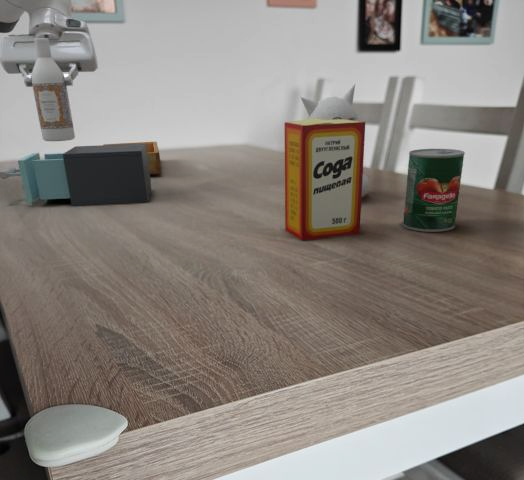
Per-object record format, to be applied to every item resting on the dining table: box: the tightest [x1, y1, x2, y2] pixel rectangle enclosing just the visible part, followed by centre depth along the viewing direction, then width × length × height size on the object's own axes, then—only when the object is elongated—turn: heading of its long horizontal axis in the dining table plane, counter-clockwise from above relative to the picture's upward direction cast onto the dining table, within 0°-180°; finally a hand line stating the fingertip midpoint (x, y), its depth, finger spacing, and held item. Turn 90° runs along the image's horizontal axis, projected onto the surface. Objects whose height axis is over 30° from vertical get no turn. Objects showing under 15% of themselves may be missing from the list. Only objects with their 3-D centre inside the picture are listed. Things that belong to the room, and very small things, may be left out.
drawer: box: [0, 152, 70, 204], centre depth 111 cm, size 18×11×8 cm, turn 96°
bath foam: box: [31, 38, 76, 142], centre depth 120 cm, size 7×7×20 cm
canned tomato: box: [402, 148, 466, 233], centre depth 84 cm, size 8×8×11 cm
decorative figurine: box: [300, 83, 371, 198], centre depth 103 cm, size 15×15×20 cm
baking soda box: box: [284, 118, 366, 241], centre depth 81 cm, size 10×6×16 cm
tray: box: [103, 141, 162, 175], centre depth 147 cm, size 31×15×6 cm, turn 11°
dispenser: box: [63, 144, 152, 207], centre depth 112 cm, size 15×13×10 cm
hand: (48, 84), depth 119 cm, fingers closed on bath foam, 7 cm apart
